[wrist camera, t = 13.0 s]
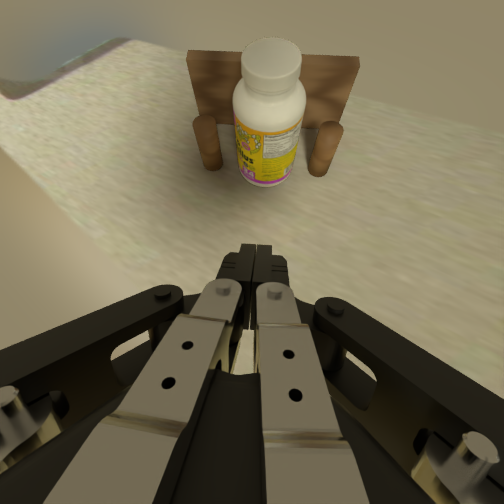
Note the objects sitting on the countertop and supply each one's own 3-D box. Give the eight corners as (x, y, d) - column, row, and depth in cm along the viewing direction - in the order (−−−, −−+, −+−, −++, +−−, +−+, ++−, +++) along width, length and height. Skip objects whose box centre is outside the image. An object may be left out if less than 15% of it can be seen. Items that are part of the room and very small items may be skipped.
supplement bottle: (233, 152, 32) (219, 36, 20) (282, 141, 33) (298, 21, 21) (246, 195, 30) (239, 94, 18) (299, 182, 30) (328, 75, 18)
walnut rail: (335, 120, 34) (358, 56, 26) (336, 129, 33) (359, 66, 26) (202, 114, 34) (188, 49, 27) (201, 122, 34) (185, 59, 26)
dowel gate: (327, 161, 31) (342, 121, 26) (327, 177, 30) (344, 139, 25) (205, 154, 32) (194, 114, 26) (202, 170, 31) (190, 131, 26)
